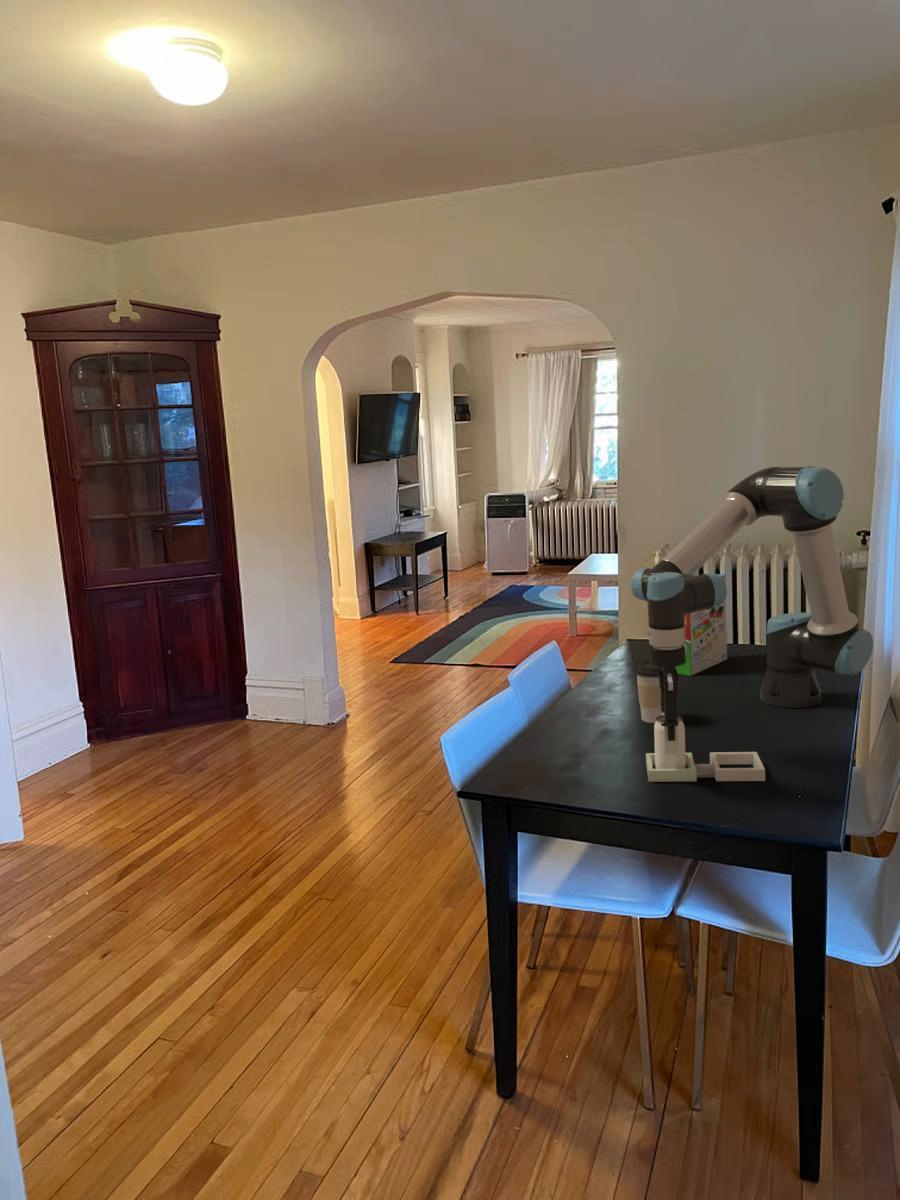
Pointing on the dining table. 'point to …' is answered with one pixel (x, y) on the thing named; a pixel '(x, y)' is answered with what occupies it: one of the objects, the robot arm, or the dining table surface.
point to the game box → (704, 639)
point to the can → (660, 757)
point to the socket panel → (710, 768)
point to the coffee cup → (649, 691)
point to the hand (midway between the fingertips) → (670, 747)
